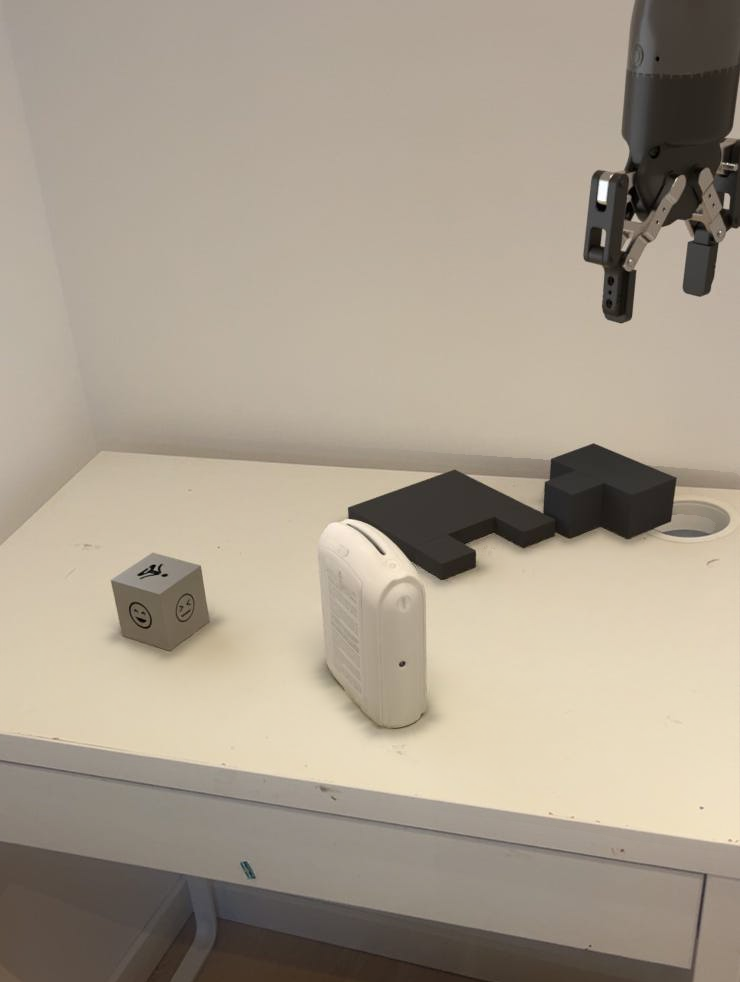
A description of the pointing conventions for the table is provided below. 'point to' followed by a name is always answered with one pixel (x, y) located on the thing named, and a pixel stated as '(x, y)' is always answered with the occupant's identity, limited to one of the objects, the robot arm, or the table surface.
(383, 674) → the photo printer
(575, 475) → the black t-shaped block
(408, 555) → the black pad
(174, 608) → the dice cube
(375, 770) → the table surface
